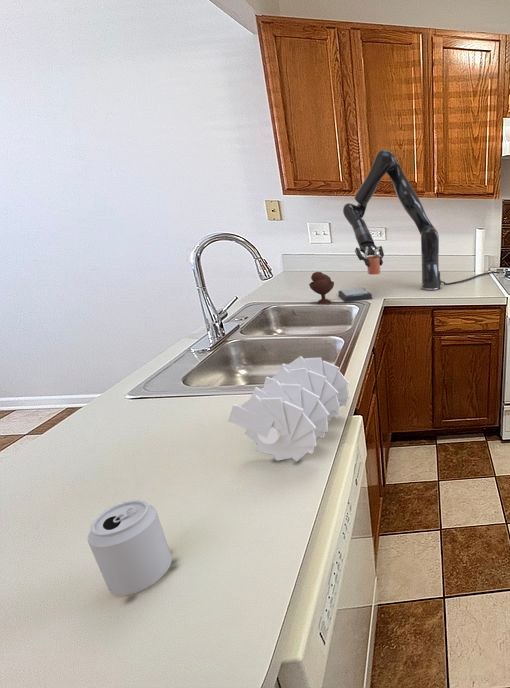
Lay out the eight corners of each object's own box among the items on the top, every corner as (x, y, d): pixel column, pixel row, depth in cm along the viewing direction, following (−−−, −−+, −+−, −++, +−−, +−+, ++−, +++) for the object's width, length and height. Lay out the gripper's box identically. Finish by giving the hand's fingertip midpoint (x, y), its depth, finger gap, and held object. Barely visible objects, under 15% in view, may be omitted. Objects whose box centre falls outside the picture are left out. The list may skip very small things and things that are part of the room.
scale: (363, 292, 208) (363, 287, 207) (371, 298, 198) (371, 293, 197) (338, 295, 202) (338, 289, 201) (345, 302, 191) (344, 296, 190)
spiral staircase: (341, 422, 105) (296, 486, 82) (278, 393, 103) (214, 451, 80) (366, 366, 100) (326, 418, 76) (301, 335, 98) (239, 378, 74)
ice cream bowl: (328, 306, 184) (324, 274, 179) (306, 304, 186) (302, 273, 181) (340, 300, 194) (337, 270, 189) (319, 298, 196) (316, 268, 191)
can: (104, 578, 59) (77, 517, 55) (164, 545, 65) (144, 487, 61) (117, 610, 55) (90, 547, 51) (180, 572, 61) (160, 512, 56)
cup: (378, 271, 202) (377, 255, 199) (381, 273, 197) (381, 257, 194) (366, 272, 199) (365, 256, 196) (370, 274, 194) (369, 258, 191)
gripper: (351, 233, 193) (363, 262, 188) (379, 232, 201) (390, 259, 197) (348, 243, 198) (359, 271, 194) (375, 241, 207) (386, 268, 202)
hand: (375, 265), depth 195 cm, fingers closed on cup, 6 cm apart
